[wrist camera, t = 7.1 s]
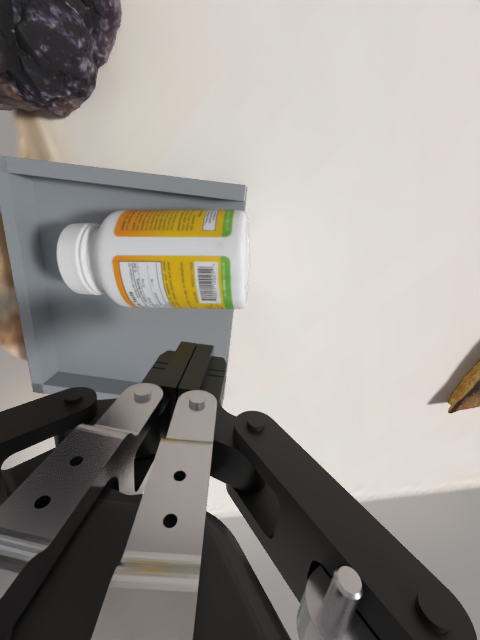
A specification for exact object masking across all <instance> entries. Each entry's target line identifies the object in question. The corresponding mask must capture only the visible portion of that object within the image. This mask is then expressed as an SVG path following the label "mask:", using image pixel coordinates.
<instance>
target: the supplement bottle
mask: <svg viewBox="0 0 480 640" xmlns="http://www.w3.org/2000/svg"><path fill="white" fill-rule="evenodd" d="M57 263H58V268H59V271H60V274H61V276H62V278H63V280H64V282H65V283H66V284H67V286H68V287H69V288H70V289H71V290H73V291H74V292H76V293H79V294H90V295H102V294H107V295H108V296H109V297H110V298H111V299H112V300H113V301H114V302H116V303H117V304H119V305H121V306H125V307H135V308H140V307H141V308H202V309H242V308H244V307H245V306H246V304H247V295H248V272H249V234H248V216H247V213H246V212H245V211H242V210H121V211H116V212H114V213H111V214H110V215H108V216H107V217H106V218H105V220H104V221H103V222H102V224H95V223H74V224H70V225H68V226H67V227H65V228H64V229H63V231H62V232H61V234H60V236H59V239H58V243H57Z"/></svg>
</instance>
